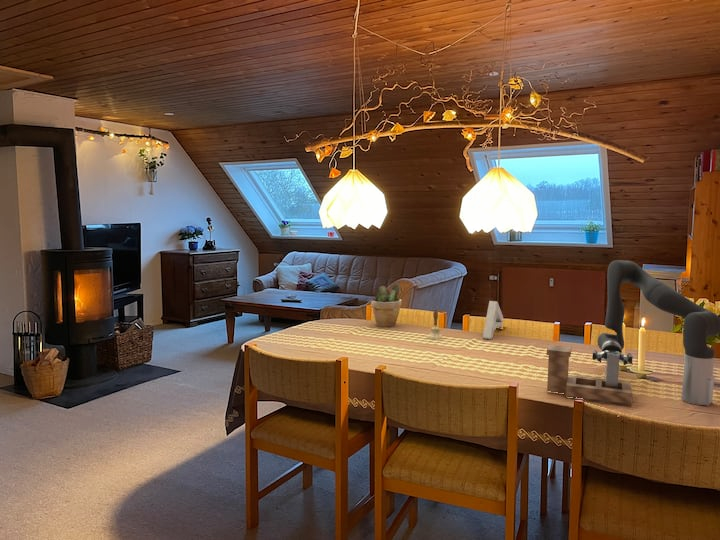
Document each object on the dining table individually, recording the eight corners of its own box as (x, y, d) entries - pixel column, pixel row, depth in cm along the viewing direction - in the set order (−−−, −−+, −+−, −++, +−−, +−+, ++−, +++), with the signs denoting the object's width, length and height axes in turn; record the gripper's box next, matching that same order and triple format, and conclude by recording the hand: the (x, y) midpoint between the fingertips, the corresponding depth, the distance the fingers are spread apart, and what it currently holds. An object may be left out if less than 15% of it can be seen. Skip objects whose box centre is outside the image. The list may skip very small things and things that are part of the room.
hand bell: (445, 339, 299) (445, 309, 298) (430, 339, 298) (431, 310, 296) (439, 335, 307) (440, 307, 306) (425, 336, 306) (426, 307, 304)
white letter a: (499, 358, 320) (490, 338, 297) (492, 357, 322) (482, 337, 299) (505, 324, 330) (497, 301, 306) (498, 323, 332) (489, 300, 308)
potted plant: (388, 330, 320) (388, 287, 318) (364, 325, 333) (364, 284, 330) (407, 325, 334) (407, 284, 331) (383, 320, 346) (383, 281, 344)
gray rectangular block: (616, 394, 209) (619, 352, 207) (617, 398, 204) (619, 355, 202) (605, 392, 210) (607, 351, 208) (605, 396, 206) (607, 354, 204)
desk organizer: (629, 394, 211) (632, 351, 209) (631, 406, 198) (634, 360, 196) (547, 384, 223) (549, 343, 221) (544, 395, 210) (546, 351, 208)
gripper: (593, 340, 229) (592, 349, 214) (631, 343, 223) (633, 353, 208) (592, 358, 230) (591, 368, 215) (630, 362, 224) (632, 373, 209)
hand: (612, 361), depth 212 cm, fingers open, 8 cm apart
